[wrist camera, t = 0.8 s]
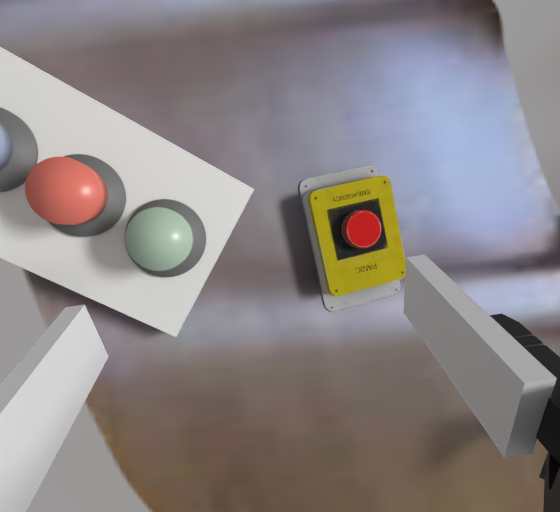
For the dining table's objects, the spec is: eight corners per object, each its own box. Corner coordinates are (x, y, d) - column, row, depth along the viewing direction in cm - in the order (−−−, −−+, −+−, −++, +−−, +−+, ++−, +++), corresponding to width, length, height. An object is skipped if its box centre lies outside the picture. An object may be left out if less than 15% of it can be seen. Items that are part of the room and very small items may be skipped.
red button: (89, 235, 29) (79, 236, 27) (28, 206, 28) (12, 204, 26) (118, 182, 29) (110, 177, 27) (58, 150, 28) (44, 143, 26)
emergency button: (394, 155, 34) (421, 299, 35) (374, 164, 38) (399, 291, 40) (305, 174, 33) (337, 322, 34) (296, 181, 37) (324, 312, 38)
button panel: (179, 328, 35) (175, 338, 32) (-86, 207, 31) (-124, 204, 27) (251, 192, 36) (254, 188, 32) (-1, 52, 31) (-28, 30, 28)
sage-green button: (177, 278, 30) (173, 281, 28) (121, 251, 29) (113, 252, 27) (204, 226, 30) (202, 226, 28) (149, 198, 29) (143, 195, 27)
